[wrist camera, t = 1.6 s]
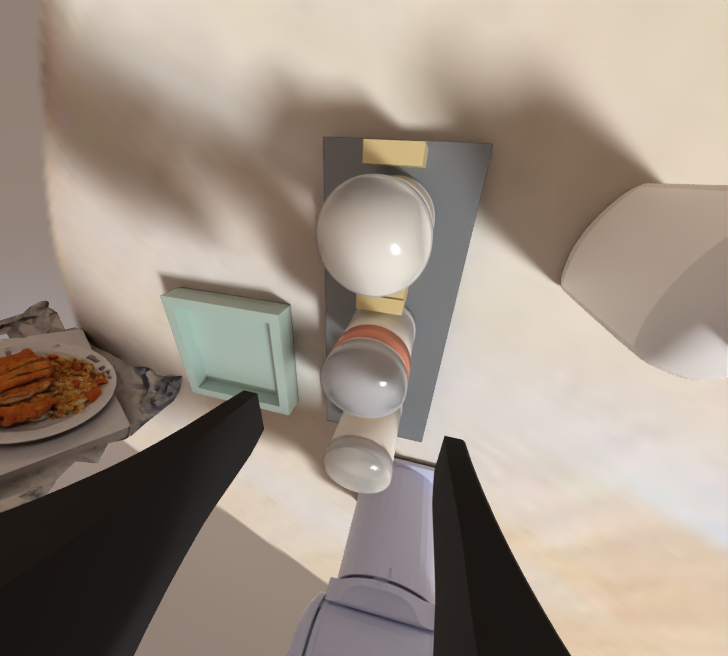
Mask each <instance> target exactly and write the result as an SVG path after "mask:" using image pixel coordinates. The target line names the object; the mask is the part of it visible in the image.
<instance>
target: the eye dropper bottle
mask: <svg viewBox="0 0 728 656" xmlns="http://www.w3.org/2000/svg"><path fill="white" fill-rule="evenodd" d="M561 286H562V290H563V291H564V292H565V293H567V294H568V295H569V296H570V297H571V298H572V299H573V300H574V301H575V302H576V303H578V304H579V305H580V306H581V307H582V308H583V309H584V310H585V311H586V312H587V313H589V314H590V315H591V316H592V317H593V318H594V319H595V320H596V321H597V322H599V323H600V324H601V325H602V326H603V327H604V328H605V329H606V330H608V331H609V332H610V333H611V334H612V335H613V336H614V337H615V338H616V339H618V340H619V341H620V342H621V343H622V344H623V345H625V346H626V347H627V348H628V349H629V350H631V351H632V352H633V353H634V354H635V355H636V356H638V357H639V358H640V359H641V360H643V361H644V362H646V363H647V364H650V365H652V366H654V367H656V368H658V369H661V370H663V371H665V372H668V373H670V374H673V375H676V376H678V377H681V378H685V379H688V380H695V381H711V380H719V379H725V378H728V185H695V184H657V183H645V184H642V185H639V186H637V187H634V188H632V189H631V190H629V191H628V192H626V193H625V194H623V195H622V196H620V197H619V198H618V199H617V200H615V201H614V202H613V203H612V204H610V205H609V206H608V207H607V208H606V209H605V210H604V211H603V212H602V213H601V214H600V215H599V216H597V217H596V219H595V220H594V221H593V222H592V223H591V224H590V225H589V226H588V227H587V229H586V230H585V231H584V232H583V234H582V235H581V236H580V238H579V239H578V241H577V242H576V244H575V246H574V247H573V249H572V251H571V253H570V255H569V257H568V259H567V261H566V264H565V267H564V270H563V273H562V277H561Z"/></svg>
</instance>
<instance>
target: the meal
mask: <svg viewBox="0 0 728 656" xmlns="http://www.w3.org/2000/svg"><path fill="white" fill-rule="evenodd" d="M48 305H49V302H47V301H42V302H39V303H37V304H35V305H33V306H31V307H30V308H29V309H27V310H26V311H25V312H24V313H23V314H20V315H17V316H14V317H10V318H7V319H4V320H1V321H0V335H2V334H6V333H7V335H8V336H9V339H1V340H0V513H1V512H3V511H6V510H9V509H11V508H14V507H17V506H19V505H22V504H24V503H27V502H30V501H32V500H35V499H37V498H40V497H42V496H45V495H46V494H47V493H48V492H49V490H50V489H51V488H52V487H53V485H54V484H55V481H56V480H57V479H58V477H60V476H61V475H62V474H63V473H64V472H65V471H66V470H67V469H68V468H69V467H70V466H71V465H72V464H73V463H74V462H75V461H79V462H88V463H98V461H99V459H100V457H101V455H102V454H103V452H104V450H105V448H106V446H107V444H108V443H111V442H115V441H120V440H124V439H126V438H128V437H129V436H132V435H133V434H134V433H135V432H136V431H137V430H138V429H139V428H141V427H142V426H143V425H144V424H145V423H146V422H148V421H149V420H150V419H151V418H153V417H154V416H155V415H157V414H158V413H159V412H160V411H162V410H163V409H164V408H165V407H166V406H168V405H169V404H170V403H171V402H172V401H174V399H175V398H176V396H177V394H178V392H179V390H180V385H181V380H182V376H178V377H173V378H171V379H169V377H162V376H157V375H155V374H154V373H153V372H152V370H151V369H149V368H145V367H134V366H131V365H129V364H127V363H125V362H123V361H121V360H119V359H118V358H116V357H115V356H113V355H111V354H109V353H107V352H105V351H103V350H101V349H98V348H96V347H95V346H93V345H92V344H90V343H89V342H88V340H87V338H86V336H85V333H84V332H83V330H82V329H77V328H71V329H66V330H65V329H64V327H63V324H62V322H61V320H60V318H59V315H58V313H57V312H55V311H54V310H53V309H50V308H49V307H48Z"/></svg>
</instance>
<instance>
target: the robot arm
mask: <svg viewBox="0 0 728 656" xmlns="http://www.w3.org/2000/svg"><path fill="white" fill-rule="evenodd" d="M263 430H264V426H263V421H262V415H261V410H260V404H259V399H258V393H254V392H249V391H245V390H243V391H242V392H240V393H238V394H237V395H235V396H233V397H232V398H230V399H229V400H227V401H225V402H224V403H222V404H221V405H219V406H217V407H216V408H214V409H213V410H211V411H210V412H208V413H206V414H205V415H203V416H201V417H200V418H198V419H197V420H195V421H193V422H192V423H190V424H189V425H187V426H185V427H184V428H182V429H180V430H178V431H177V432H175V433H173V434H171V435H170V436H168V437H166V438H164V439H163V440H161V441H159V442H157V443H156V444H154V445H152V446H150V447H148V448H147V449H145V450H143V451H141V452H139V453H137V454H135V455H133V456H131V457H129V458H127V459H125V460H123V461H121V462H119V463H117V464H115V465H113V466H111V467H109V468H107V469H105V470H103V471H100V472H98V473H96V474H93V475H92V476H89V477H87V478H85V479H82V480H80V481H78V482H75V483H73V484H71V485H69V486H67V487H64V488H62V489H59V490H57V491H55V492H52V493H50V494H47V495H45V496H42V497H40V498H37V499H35V500H32V501H30V502H27V503H24V504H22V505H19V506H17V507H14V508H11V509H9V510H6V511H3V512H1V513H0V656H134V654H135V652H136V650H137V648H138V646H139V644H140V642H141V640H142V638H143V635H144V633H145V631H146V629H147V627H148V625H149V623H150V621H151V619H152V617H153V615H154V614H155V611H156V610H157V608H158V606H159V604H160V602H161V600H162V598H163V596H164V594H165V592H166V590H167V588H168V586H169V585H170V583H171V581H172V579H173V577H174V575H175V574H176V572H177V570H178V568H179V566H180V564H181V563H182V561H183V559H184V557H185V555H186V554H187V552H188V550H189V548H190V547H191V545H192V543H193V541H194V540H195V538H196V536H197V534H198V533H199V531H200V529H201V527H202V526H203V524H204V523H205V521H206V519H207V518H208V516H209V515H210V513H211V512H212V510H213V509H214V507H215V506H216V504H217V503H218V501H219V500H220V499H221V497H222V496H223V494H224V493H225V491H226V490H227V488H228V487H229V485H230V484H231V483H232V481H233V480H234V478H235V477H236V475H237V474H238V472H239V471H240V470H241V468H242V467H243V465H244V464H245V462H246V461H247V459H248V458H249V456H250V455H251V453H252V451H253V449H254V448H255V446H256V444H257V442H258V440H259V438H260V436H261V434H262V432H263ZM287 656H571V655H570V653H569V652H568V650H567V648H566V647H565V645H564V644H563V642H562V640H561V639H560V637H559V636H558V634H557V632H556V631H555V629H554V627H553V626H552V624H551V622H550V620H549V619H548V617H547V615H546V614H545V612H544V610H543V608H542V607H541V605H540V603H539V602H538V600H537V598H536V596H535V594H534V593H533V591H532V589H531V587H530V585H529V584H528V582H527V580H526V578H525V576H524V575H523V573H522V571H521V569H520V567H519V565H518V563H517V561H516V559H515V558H514V556H513V554H512V552H511V550H510V548H509V546H508V544H507V542H506V540H505V538H504V536H503V534H502V532H501V529H500V527H499V525H498V523H497V521H496V519H495V517H494V514H493V512H492V510H491V508H490V505H489V503H488V501H487V499H486V496H485V494H484V492H483V489H482V487H481V485H480V482H479V480H478V477H477V475H476V472H475V469H474V467H473V464H472V461H471V459H470V456H469V453H468V450H467V447H466V443H465V442H464V441H463V440H461V439H457V438H452V437H448V436H444V440H443V443H442V447H441V450H440V453H439V457H438V460H437V463H436V467H435V468H434V467H430V466H426V465H421V464H417V463H413V462H409V461H405V460H401V459H397V458H394V460H393V471H392V478H391V482H390V485H389V486H388V487H387V488H386V489H385V490H383V491H381V492H378V493H372V494H366V493H358V496H357V504H356V508H355V512H354V515H353V519H352V523H351V527H350V531H349V535H348V539H347V543H346V547H345V551H344V555H343V559H342V563H341V567H340V571H339V575H338V578H333V577H331V578H330V581H329V585H328V589H327V592H319V593H318V594H317V595H316V596H315V597H314V599H313V600H312V601H311V602H310V603H309V604H308V605H307V606H306V608H305V610H304V611H303V614H302V615H301V618H300V620H299V622H298V625H297V627H296V630H295V632H294V636H293V639H292V642H291V645H290V648H289V652H288V655H287Z"/></svg>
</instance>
